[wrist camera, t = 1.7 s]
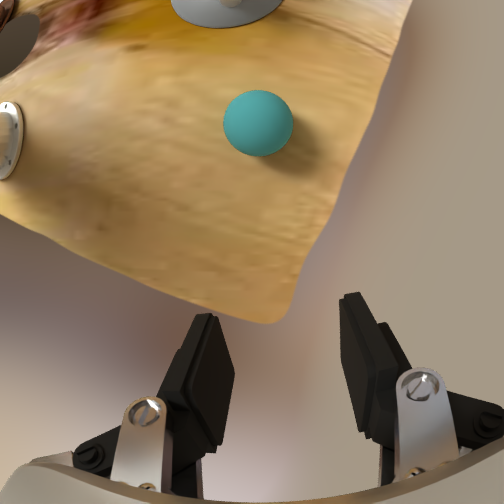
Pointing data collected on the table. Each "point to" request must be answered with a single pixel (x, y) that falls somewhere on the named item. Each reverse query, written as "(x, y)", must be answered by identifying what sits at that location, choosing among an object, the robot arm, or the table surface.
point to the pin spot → (223, 12)
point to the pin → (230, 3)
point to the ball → (258, 123)
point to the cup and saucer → (5, 12)
